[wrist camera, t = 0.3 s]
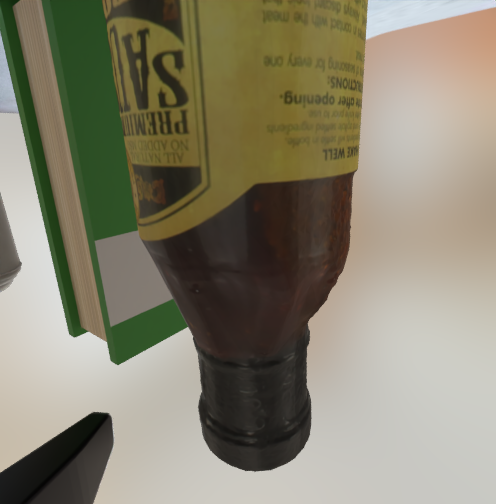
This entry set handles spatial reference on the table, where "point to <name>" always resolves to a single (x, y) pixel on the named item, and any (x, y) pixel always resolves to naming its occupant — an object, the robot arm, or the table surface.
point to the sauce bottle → (243, 190)
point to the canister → (7, 252)
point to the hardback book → (84, 174)
